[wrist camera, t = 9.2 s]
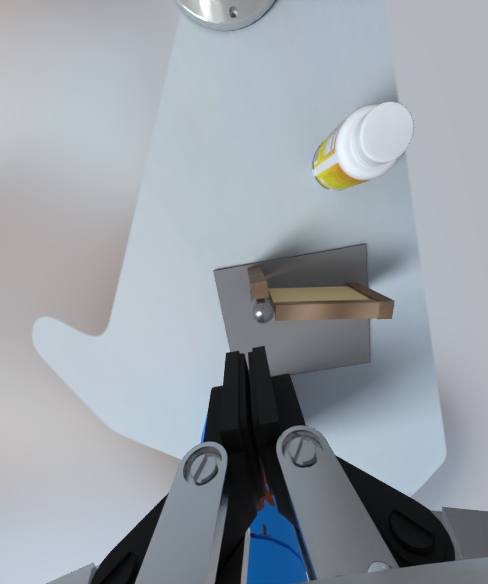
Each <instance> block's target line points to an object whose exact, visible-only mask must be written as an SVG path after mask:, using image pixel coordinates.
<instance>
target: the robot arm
mask: <svg viewBox="0 0 488 584" xmlns="http://www.w3.org/2000/svg"><path fill="white" fill-rule="evenodd" d="M173 1H174V2H175V3H176V5H177V6H178V7H179V9H180V10H181V11H182V12H184V13H185V14H186V15H187V16H188V17H189V18H190V19H192V20H193V21H195V22H197V23H198V24H200V25H202V26H204V27H207V28H210V29H213V30H221V31H229V30H236V29H240V28H243V27H245V26H248V25H250V24H251V23H253V22H254V21H256V20H257V19H259V18H260V17H261V16H262V15H263V14H264V13H265V12H266V11H267V10H268V9H269V8H270V7H271V5H272V4H273V2H274V1H275V0H173ZM232 17H235V18H232ZM248 362H249V370H248V366H247V362H246V357H245V354H244V353H241V354H240V352H239V351H234V352H229V353H226V360H225V370H224V381H223V386H218V387H213V388H212V390H211V395H210V401H209V408H208V414H207V420H206V427H205V433H204V439H203V443H201V444H199V445H197V446H195V447H193V448H192V449H191V450H190V451H188V453H187V454H186V455H185V456H184V457H183V459H182V461H181V463H180V465H179V467H178V470H177V473H176V475H175V478H174V481H173V483H172V486H171V489H170V491H169V493H168V494H167V495H166V496H165V497H164V498H163V499H162V500H161V501H160V502H159V503H158V504H157V506H155V507H154V508H153V509H152V510H151V511H150V512H149V513H148V514H147V515H146V516H145V518H143V520H141V521H140V522H139V523H138V524H137V525H136V527H134V529H133V530H132V531H131V532H130V533H129V534H128V535H127V536H126V537H125V538H124V539H123V540H122V541H121V542H120V543H119V544H118V545H117V546H116V547H115V548H114V549H113V550H112V551H111V552H110V553H109V554H108V555H107V557H106V558H105V559H104V560H103V562H102V563H101V564H100V565H98V566H95V565H94V563H92V564H90V565H87V566H85V567H82V568H80V569H78V570H76V571H73V572H71V573H69V574H67V575H65V576H62V577H60V578H58V579H56V580H53V581H51V582H49V583H47V584H246V583H247V570H248V558H249V545H250V525H251V524H252V522H253V521H254V519H255V518H256V516H257V512H259V511H261V504H260V498H265V497H266V492H265V481H264V472H265V476H266V480H267V484H268V488H269V492H270V496H274V497H275V501H276V505H277V509H278V512H279V513H280V514H281V515H282V516H284V517H285V518H286V519H287V520H288V521H289V522H290V523H291V524H293V528H294V531H295V535H296V538H297V542H298V545H299V548H300V552H301V555H302V558H303V562H304V565H305V568H306V572H307V575H308V578H309V581H306V582H299V583H293V584H488V511H478V510H468V509H458V508H448V507H442V512H440V511H430V510H429V509H427V508H426V507H424V506H423V505H421V504H420V503H419V502H417V501H415V500H413V499H412V498H410V497H408V496H406V495H405V494H403V493H401V492H399V491H398V490H396V489H394V488H392V487H391V486H389V485H387V484H385V483H383V482H382V481H380V480H378V479H376V478H375V477H373V476H371V475H369V474H367V473H366V472H364V471H362V470H360V469H359V468H357V467H355V466H353V465H352V464H350V463H348V462H346V461H344V460H343V459H341V458H339V457H337V456H336V455H335V454H334V453H333V451H332V449H331V447H330V446H329V444H328V442H327V440H326V439H325V438H324V436H323V435H322V434H321V433H320V432H319V431H317V430H316V429H314V428H311V427H309V426H306V425H305V421H304V418H303V415H302V412H301V409H300V406H299V402H298V399H297V396H296V393H295V390H294V387H293V383H292V380H291V377H290V374H289V373H287V374H282V375H276V376H271V374H270V370H269V365H268V360H267V355H266V351H265V346H260V347H254V348H252V352H248ZM263 468H264V471H263Z"/></svg>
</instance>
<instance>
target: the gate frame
mask: <svg viewBox="0 0 488 584" xmlns="http://www.w3.org/2000/svg"><path fill="white" fill-rule="evenodd" d="M213 272H214V276H215V281H216V286H217V291H218V295H219V300H220V305H221V310H222V314H223V319H224V324H225V329H226V333H227V338H228V343H229V348H230V352H234V351H239V352H240V354H241V353H244V354H245V357H246V362H247V366H248V370H249V362H248V352H252V348H254V347H260V346H265V351H266V355H267V360H268V365H269V370H270V374H271V376H276V375H282V374H287V373H289V374H290V375H293V374H299V373H305V372H311V371H318V370H324V369H330V368H336V367H343V366H349V365H355V364H361V363H368V362H370V344H369V318H363V319H328V320H293V321H276V320H275V318H274V315H273V318H272V319H271V320H270V321H269V322H267V323H259V322H257V321H256V320H255V319H254V317H253V312H252V305H251V298H250V289H251V294H252V300H255V299H261V298H267V297H269V292H268V288H304V287H340V286H346V283H359V284H361V285H363V286H365V287H367V259H366V244H363V245H358V246H352V247H346V248H340V249H335V250H329V251H323V252H317V253H312V254H306V255H300V256H294V257H289V258H283V259H277V260H272V261H266V262H260V263H254V264H249V265H243V266H237V267H231V268H226V269H220V270H214V271H213ZM367 288H368V287H367Z"/></svg>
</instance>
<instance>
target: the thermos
mask: <svg viewBox="0 0 488 584" xmlns="http://www.w3.org/2000/svg"><path fill="white" fill-rule="evenodd" d="M206 420H207V417H206ZM205 427H206V421H205V425H204V429H203V433H202V438H201V443H203V439H204V433H205ZM263 471H264V468H263ZM264 481H265V492H266V497H265V498H260V504H261V511H259V512H257V516H256V518H255V519H254V521H253V522H252V524H251V525H250V545H249V558H248V570H247V583H246V584H293V583H299V582H306V581H308V579H307V575H306V569H305V565H304V562H303V558H302V555H301V552H300V548H299V545H298V542H297V538H296V535H295V531H294V528H293V524H291V523H290V522H289V521H288V520H287V519H286V518H285V517H284V516H282V515H281V514H280V513H279V512H278V509H277V505H276V501H275V497H274V496H270V492H269V488H268V484H267V480H266V476H265V472H264Z"/></svg>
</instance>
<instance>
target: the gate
mask: <svg viewBox="0 0 488 584" xmlns="http://www.w3.org/2000/svg"><path fill="white" fill-rule="evenodd" d="M268 292H269V297H267V298H261V299H255V300H252V294H251V289H250V298H251V305H252V312H253V317H254V319H255V320H256V321H257V322H259V323H267V322H269V321H270V320H271V319H272V318H273V315H274V318H275V320H276V321H293V320H328V319H363V318H377V319H392V314H393V308H394V300H392V299H390V298H388V297H385V296H383V295H381V294H379V293H377V292H375V291H373V290H371V289H369V288H367V287H365V286H363V285H361V284H359V283H346V286H340V287H304V288H268Z"/></svg>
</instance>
